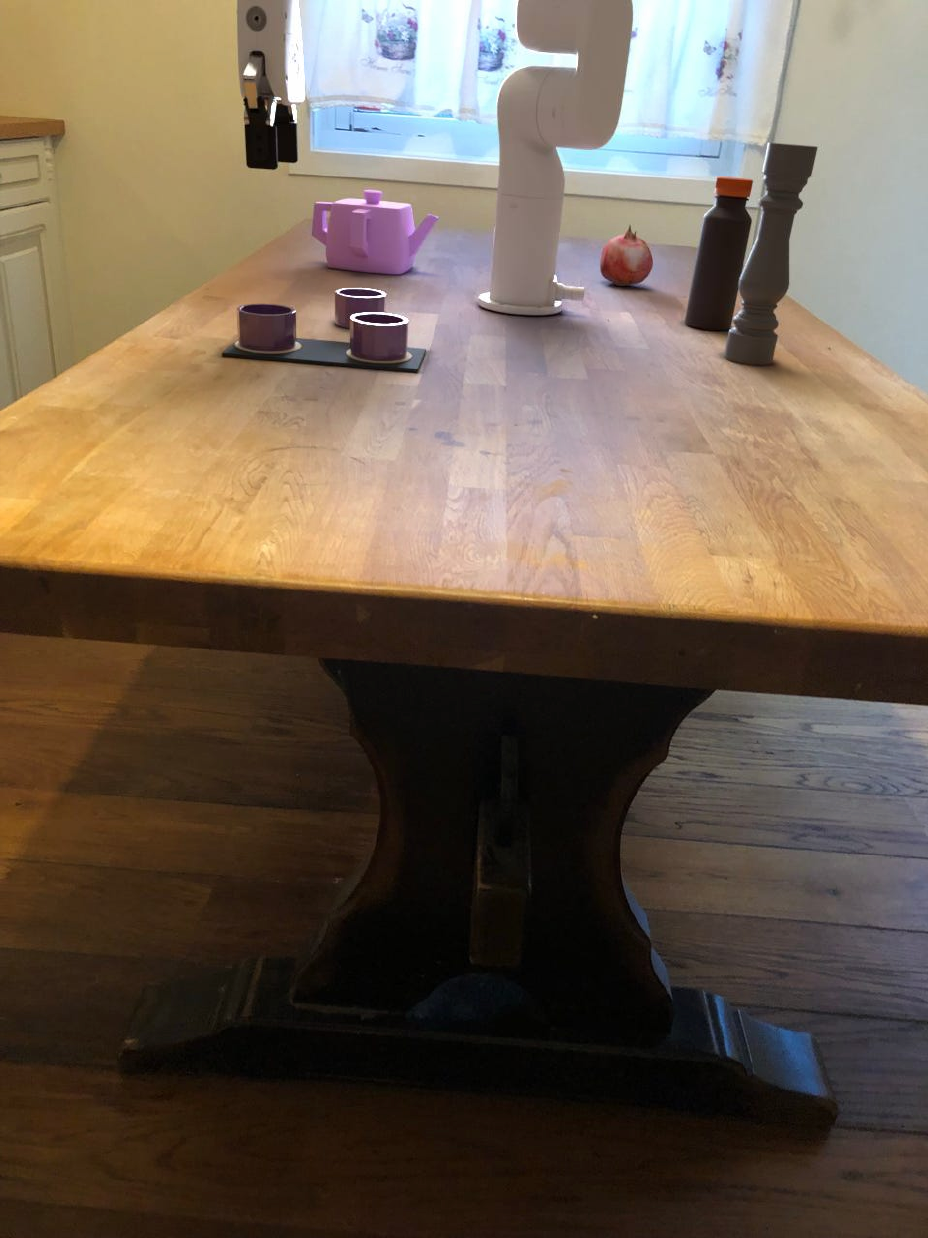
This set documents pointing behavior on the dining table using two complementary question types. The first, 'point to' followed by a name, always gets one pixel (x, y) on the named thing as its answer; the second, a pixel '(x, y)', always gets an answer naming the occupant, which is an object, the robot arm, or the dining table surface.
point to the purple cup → (266, 327)
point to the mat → (329, 355)
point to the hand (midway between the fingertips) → (273, 165)
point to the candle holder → (769, 255)
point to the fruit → (626, 260)
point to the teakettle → (370, 234)
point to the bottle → (720, 256)
